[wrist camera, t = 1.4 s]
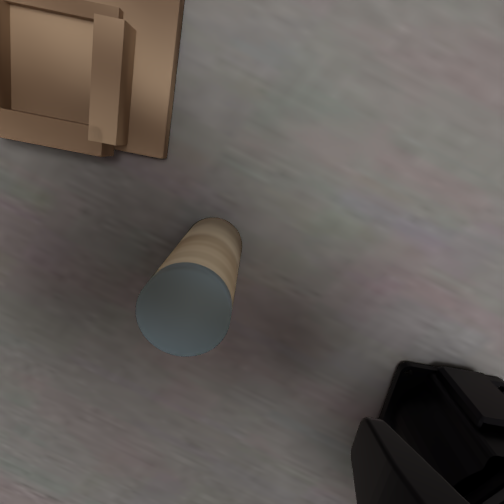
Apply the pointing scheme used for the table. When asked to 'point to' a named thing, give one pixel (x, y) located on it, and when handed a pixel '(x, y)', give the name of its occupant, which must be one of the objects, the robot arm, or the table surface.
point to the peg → (192, 291)
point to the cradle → (89, 73)
